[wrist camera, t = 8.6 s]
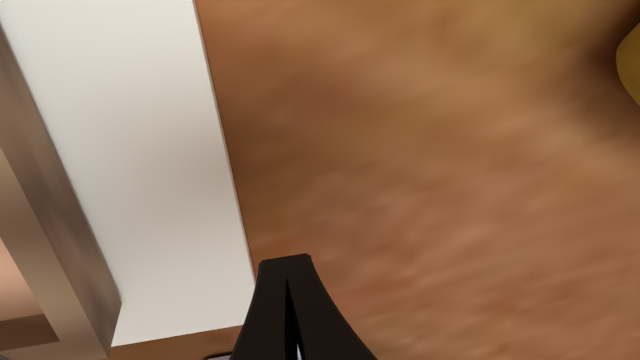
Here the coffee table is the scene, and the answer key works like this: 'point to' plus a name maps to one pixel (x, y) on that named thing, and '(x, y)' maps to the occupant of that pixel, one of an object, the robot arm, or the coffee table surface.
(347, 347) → the robot arm
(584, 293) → the coffee table surface
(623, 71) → the flower pot
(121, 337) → the wall board
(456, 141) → the coffee table surface
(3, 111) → the wooden tray
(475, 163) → the coffee table surface
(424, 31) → the coffee table surface
